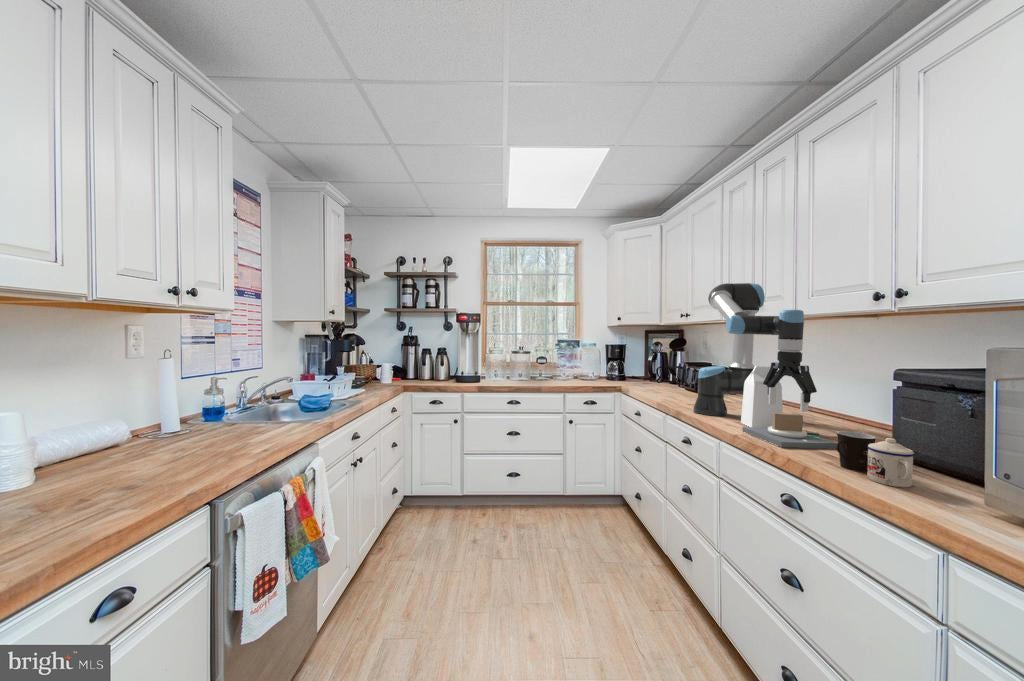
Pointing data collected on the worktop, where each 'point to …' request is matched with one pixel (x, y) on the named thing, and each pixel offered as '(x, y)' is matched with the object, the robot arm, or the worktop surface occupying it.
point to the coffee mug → (854, 450)
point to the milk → (759, 399)
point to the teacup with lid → (890, 463)
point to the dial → (788, 426)
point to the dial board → (790, 439)
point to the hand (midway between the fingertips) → (787, 407)
